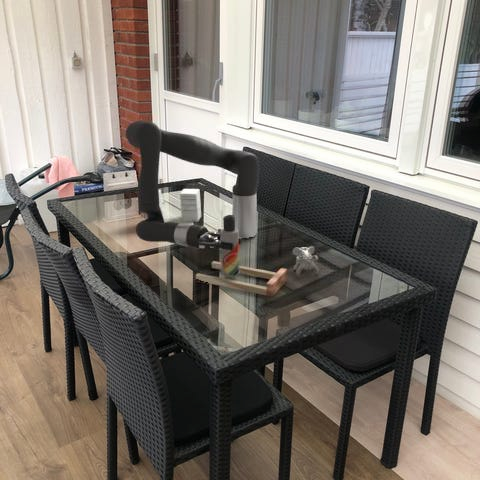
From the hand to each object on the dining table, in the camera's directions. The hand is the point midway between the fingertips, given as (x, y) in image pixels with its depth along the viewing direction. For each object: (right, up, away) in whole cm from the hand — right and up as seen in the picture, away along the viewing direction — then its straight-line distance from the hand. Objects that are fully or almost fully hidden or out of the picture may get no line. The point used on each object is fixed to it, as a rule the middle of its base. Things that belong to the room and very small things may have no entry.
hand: (236, 243), depth 160 cm
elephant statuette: (+22, -9, +11) cm, 26 cm away
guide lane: (+1, -12, +4) cm, 13 cm away
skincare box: (-35, +7, +55) cm, 65 cm away
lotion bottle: (-2, -10, +5) cm, 12 cm away
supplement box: (-20, +10, +61) cm, 65 cm away
